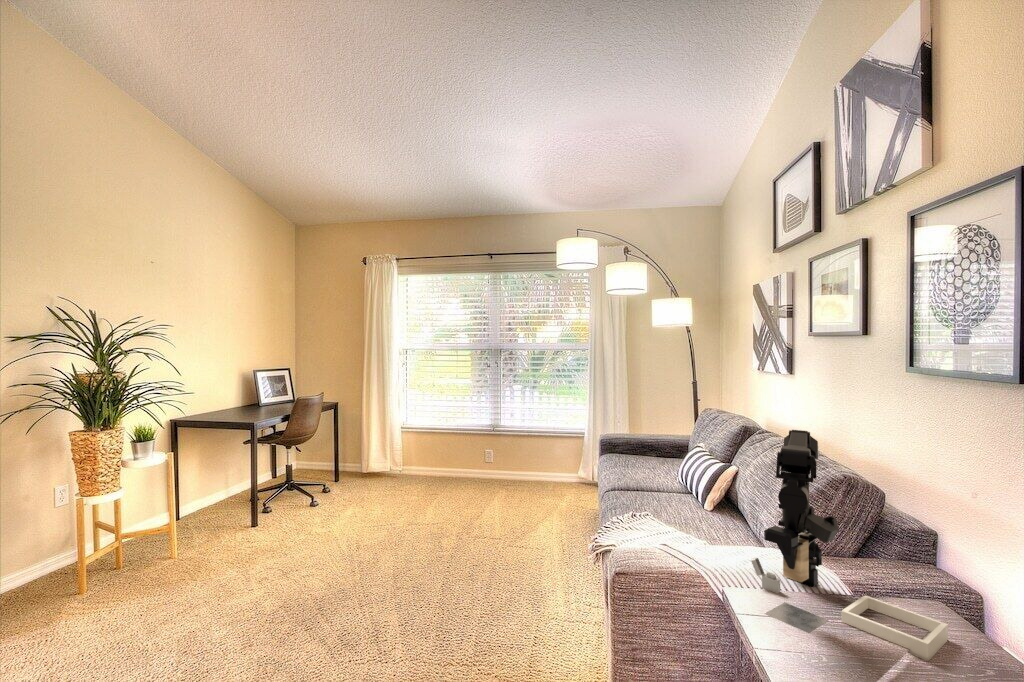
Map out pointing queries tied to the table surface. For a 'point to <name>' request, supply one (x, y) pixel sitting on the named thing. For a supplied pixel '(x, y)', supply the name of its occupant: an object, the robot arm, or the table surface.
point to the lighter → (766, 577)
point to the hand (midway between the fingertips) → (795, 566)
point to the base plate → (796, 617)
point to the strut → (799, 564)
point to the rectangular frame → (917, 646)
